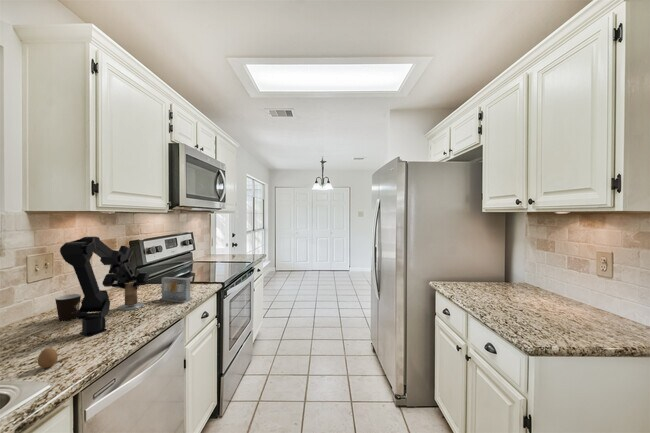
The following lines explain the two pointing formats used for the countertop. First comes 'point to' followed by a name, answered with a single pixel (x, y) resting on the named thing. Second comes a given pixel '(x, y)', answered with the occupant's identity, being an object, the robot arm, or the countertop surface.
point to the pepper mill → (130, 293)
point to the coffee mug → (68, 306)
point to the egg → (47, 358)
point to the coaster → (130, 306)
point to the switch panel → (175, 289)
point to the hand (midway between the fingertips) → (132, 288)
